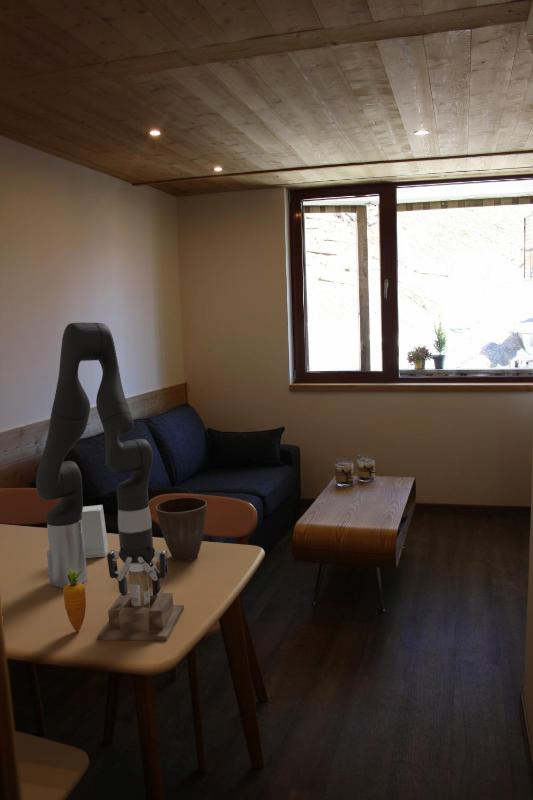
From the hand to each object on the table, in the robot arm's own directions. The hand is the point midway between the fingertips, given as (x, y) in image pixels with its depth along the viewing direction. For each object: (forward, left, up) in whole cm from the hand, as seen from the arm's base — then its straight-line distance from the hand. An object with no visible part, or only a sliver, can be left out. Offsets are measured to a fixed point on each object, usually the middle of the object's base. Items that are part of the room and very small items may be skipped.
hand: (140, 594), depth 163 cm
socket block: (0, 0, -7) cm, 7 cm away
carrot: (-14, -4, -7) cm, 17 cm away
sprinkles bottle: (0, 0, -5) cm, 5 cm away
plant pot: (0, +43, -7) cm, 44 cm away
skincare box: (-29, +45, -7) cm, 54 cm away
